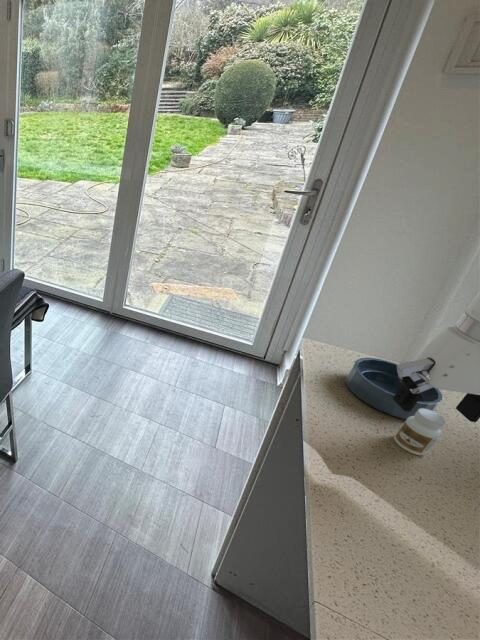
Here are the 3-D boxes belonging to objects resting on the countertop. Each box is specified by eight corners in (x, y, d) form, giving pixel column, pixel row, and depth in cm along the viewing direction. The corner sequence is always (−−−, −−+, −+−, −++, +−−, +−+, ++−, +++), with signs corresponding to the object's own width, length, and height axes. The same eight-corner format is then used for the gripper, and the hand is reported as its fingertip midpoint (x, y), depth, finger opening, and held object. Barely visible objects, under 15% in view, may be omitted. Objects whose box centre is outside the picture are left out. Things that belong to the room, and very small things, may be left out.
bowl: (397, 380, 91) (409, 362, 88) (447, 427, 79) (462, 409, 77) (331, 371, 93) (340, 353, 91) (370, 416, 81) (382, 397, 79)
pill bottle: (388, 440, 76) (409, 410, 73) (400, 432, 78) (422, 403, 74) (418, 459, 73) (442, 429, 69) (431, 451, 74) (455, 421, 71)
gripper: (534, 325, 66) (471, 403, 73) (411, 310, 68) (362, 386, 76) (587, 356, 59) (512, 437, 67) (449, 337, 62) (391, 418, 69)
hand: (432, 410), depth 71 cm, fingers open, 9 cm apart
